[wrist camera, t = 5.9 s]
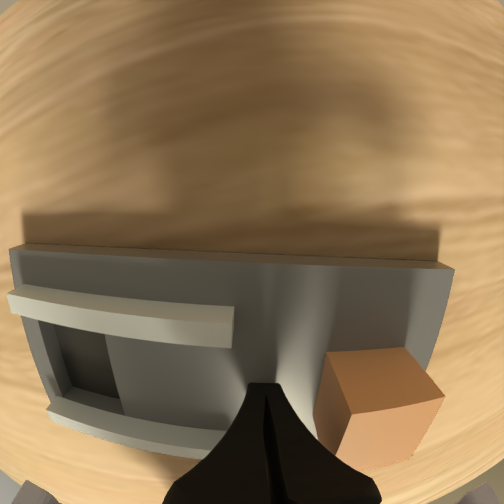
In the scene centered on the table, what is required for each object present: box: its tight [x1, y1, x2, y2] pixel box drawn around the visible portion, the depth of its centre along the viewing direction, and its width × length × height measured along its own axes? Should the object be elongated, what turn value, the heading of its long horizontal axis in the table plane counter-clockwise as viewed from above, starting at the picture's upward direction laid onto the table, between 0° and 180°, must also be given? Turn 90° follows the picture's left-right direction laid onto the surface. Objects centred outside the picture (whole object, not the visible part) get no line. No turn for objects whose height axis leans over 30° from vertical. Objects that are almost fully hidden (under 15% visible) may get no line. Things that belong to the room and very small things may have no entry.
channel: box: [7, 243, 455, 460], centre depth 12 cm, size 12×22×3 cm, turn 88°
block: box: [313, 347, 445, 471], centre depth 10 cm, size 4×4×4 cm
